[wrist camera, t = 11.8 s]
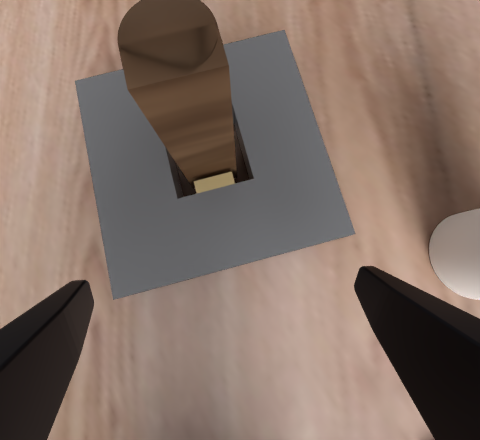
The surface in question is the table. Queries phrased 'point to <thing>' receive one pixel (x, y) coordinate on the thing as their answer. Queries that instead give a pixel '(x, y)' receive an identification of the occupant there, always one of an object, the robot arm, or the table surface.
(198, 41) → the walnut peg
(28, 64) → the table surface
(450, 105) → the table surface
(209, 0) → the table surface
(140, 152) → the hub plate
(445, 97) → the table surface
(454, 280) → the cylindrical container
